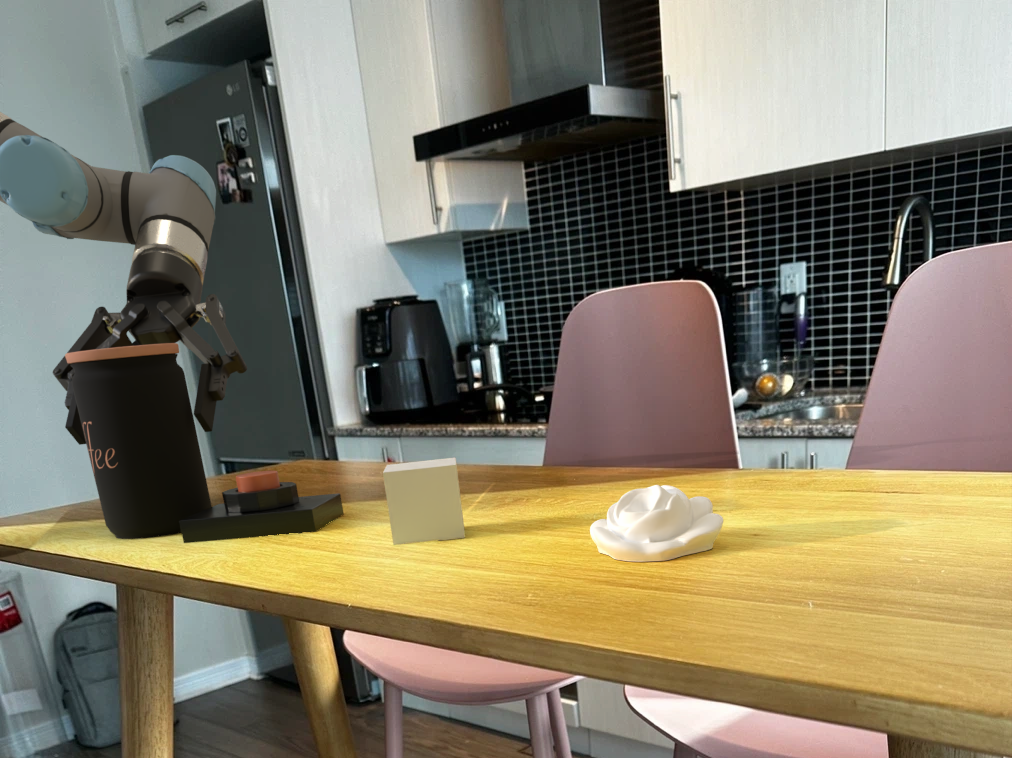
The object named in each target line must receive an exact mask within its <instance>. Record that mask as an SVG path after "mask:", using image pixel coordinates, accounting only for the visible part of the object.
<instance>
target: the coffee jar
mask: <svg viewBox="0 0 1012 758" xmlns="http://www.w3.org/2000/svg"><path fill="white" fill-rule="evenodd" d="M66 353H67V352H66ZM66 353H65V355H64V356H65V357H66V360H67V363H68V364H70V366H71V367H72V368H73V369H74V373H75V374H74V376H73V378H72V387H73V391H74V395H75V400H76V404H77V408H78V412H79V416H80V420H81V424H82V428H83V433H84V437H85V441H86V444H85V445H86V448H87V453H88V456H89V461H90V465H91V469H92V473H93V477H94V482H95V486H96V491H97V494H98V498H99V502H100V503H99V504H100V507H101V511H102V515H103V519H104V523H105V527H106V528H107V529H108V530H109V532H110V533H112V534H113V535H114V536H115V538H116V539H120V540H140V539H150V538H159V537H165V536H171V535H178V534H182V532H181V528H180V523H179V521H180V520H182V519H184V518H187V517H189V516H192V515H194V514H196V513H199V512H201V511H203V510H206V509H208V508H211V507H213V506H212V502H211V496H210V491H209V486H208V481H207V476H206V472H205V468H204V463H203V458H202V451H201V448H200V443H199V442H200V441H199V437H198V433H197V427H196V423H195V418H194V412H193V410H192V403H191V399H190V394H189V389H188V384H187V380H186V375H185V371H184V368H183V367H181V365H180V364H178V362H177V358H178V354H180V347H179V343H178V342H176V343H164V344H150V345H137V346H126V347H115V348H105V349H95V350H86V351H78V352H71V353H67V354H66Z"/></svg>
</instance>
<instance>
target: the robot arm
mask: <svg viewBox="0 0 1012 758" xmlns="http://www.w3.org/2000/svg"><path fill="white" fill-rule="evenodd" d="M0 202H1V203H3V204H5V205H6V206H8V207H9V208H10V209H11V210H13V211H14V212H15V213H16V214H17V215H19V216H21V217H22V218H24V219H26V220H28V221H30V222H31V224H32V225H33V227H34V228H35V229H36V230H37V231H38V232H40V233H42V234H44V235H49V236H56V237H59V238H65V239H67V240H74V239H80V240H89V241H97V242H109V243H118V244H128V245H129V244H130V245H132V246H134V249H133V254H132V256H131V257H132V258H131V265H130V269H129V275H128V278H127V284H126V291H125V293H126V304H125V305H124V306H123V308H122V309H121V310H120V311H119V312H109V311H108V309H106V307H105V306H98V307H97V308H96V309H95V310H94V313H93V316H92V318H91V321H90V323H89V324H88V326H87V327H86V328H85V329H84V331H83V332H82V333H81V335H80V336H79V337H78V338H77V339H76V341H74V343H73V345H71V347H70V348H69V350H68V351H67V352H66V353H65V354H67V353H71V352H78V351H86V350H95V349H105V348H115V347H126V346H137V345H150V344H164V343H178V342H180V343H182V344H183V345H184V346H185V348H187V350H189V351H191V352H192V353H193V354H194V355H195V356H196V357H197V358H198V359H199V360H200V361H201V362H202V363H201V365H200V372H199V378H198V384H197V391H196V397H195V403H194V409H193V417H195V419H196V420H197V422H198V424H199V425H200V427H201V428H202V430H203V431H204V433H208V432H213V428H214V422H215V414H216V408H217V402H219V401H223V400H224V398H225V396H226V389H227V383H228V379H229V378H230V377H231V375H232V374H233V373H237V374H244V373H245V372H247V371H248V366H247V364H246V362H245V360H244V358H243V356H242V354H241V352H240V350H239V348H238V346H237V345H236V343H235V341H234V338H233V337H232V335H231V333H230V331H229V329H228V327H227V324H226V323H227V313H226V311H225V310H224V308H223V306H222V304H221V302H220V300H219V298H218V296H217V295H216V294H215V293H210V294H208V295H207V296H206V297H205V302H201V301H202V294H203V285H204V280H205V274H206V268H207V263H208V256H209V249H210V244H211V239H212V233H213V230H214V225H215V223H216V219H217V218H216V204H217V203H216V202H217V187H216V185H215V182H214V179H213V178H212V176H211V175H210V173H209V171H207V170H206V169H205V168H204V167H203V165H201V164H200V163H198V162H197V161H195V160H193V159H191V158H189V157H186V156H184V155H177V154H171V155H168V156H165V157H162V158H159V159H157V160H156V161H155V163H154V164H153V165H152V167H151V170H149V172H141V171H129V170H127V171H126V170H125V171H124V170H120V169H112V168H104V167H98V166H93V165H90V164H89V163H87V162H85V161H83V159H81V158H78V157H77V156H75V155H73V154H72V153H70V152H69V151H68V150H67V149H65V148H64V147H62V146H61V145H60V144H57V143H56V142H54V141H52V140H51V139H48V138H47V137H44V136H42V135H40V134H38V133H37V132H35V131H33V130H32V129H30V128H28V127H26V126H25V125H23V124H20V123H19V122H17V121H15V120H14V119H12V117H10V116H8V115H6V114H4V113H3V112H1V111H0ZM201 318H203V319H204V321H205V323H209V324H210V326H212V328H213V330H214V332H215V334H216V336H217V338H218V339H219V341H220V344H221V346H222V347H223V349H224V351H225V353H226V354H224V355H220V353H219V351H218V350H217V349H216V350H215V349H214V348H213V347H212V346H211V345H210V344H209V343H208V342H207V341H206V340H205V339H203V337H202V336H200V334H198V332H196V331H195V329H194V327H195V326H196V325H197V323H198V322H199V321H200V320H201ZM128 333H129V334H130V335H131V336H132V338H133V339H134V341H133V342H132V340H131V339H130V337H129V336H128ZM74 374H75V373H74V369H73V368H72V367H71V366H70V364H68V363H67V360H66V357H65V355H64V356H62V358H61V359H60V361H59V362H58V363H57V365H56V366H55V367H54V369H52V375H53V376H54V377H55V379H56V380H57V381H58V383H59V384H60V385H61V387H62V388H63V389H64V390H65V391H66V394H65V395H66V396H65V399H64V406H65V407H66V409H67V410H68V412H67V417H66V422H65V426H64V428H65V429H66V430H67V432H68V433H69V434H70V435H71V436H72V438H73V439H74V440H75V441H76V443H77V444H78V445H81V446H82V445H86V441H85V437H84V433H83V428H82V424H81V420H80V416H79V412H78V408H77V404H76V400H75V395H74V391H73V387H72V378H73V376H74Z"/></svg>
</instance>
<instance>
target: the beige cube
mask: <svg viewBox="0 0 1012 758" xmlns="http://www.w3.org/2000/svg"><path fill="white" fill-rule="evenodd" d="M382 477H383V484H384V490H385V491H384V492H385V498H386V504H387V510H388V512H387V513H388V517H389V525H390V531H391V539H392V545H393V546H395V545H405V544H413V543H415V544H416V543H422V542H423V543H424V542H432V541H448V540H456V539H457V540H458V539H465V538H466V534H465V523H464V515H463V507H462V499H461V489H460V482H459V473H458V465H457V458H456V457H447V458H446V457H445V458H437V459H429V460H420V461H419V460H418V461H410V462H400V463H391V464H386V465H385V468H384V470H383V472H382Z"/></svg>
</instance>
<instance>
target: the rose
mask: <svg viewBox="0 0 1012 758" xmlns="http://www.w3.org/2000/svg"><path fill="white" fill-rule="evenodd" d="M713 508H714V505H713V502H712V501H711V499H710V498H709V497H707V496H699V495H698V496H693V497H691V498H689V497H688V496H687V494H686V493H685V492H684V491H682V490H681V489H680V488H679V487H676V486H672V485H669V484H663V485H659V484H654V485H651V486H648V487H643V488H635V489H630V490H629V491H627V492H625V493H624V494H622V496H621V497H620V498H619V499H618V501H616V502H614V503H613V504H612V505H610V506H609V507H608V510H607V512H606V518H600V519H597V520H595V521H594V522H592V523H591V525H590V527H589V534H590V538H591V539H592V541H593V543H594V544H595V545H596V547H597V551H598V553H599V554H603V555H605V556H606V555H607V556H609V557H610V558H612V559H614V560H618V561H624V562H634V563H635V562H636V563H637V562H639V563H640V562H641V563H644V562H664V561H670V560H674V559H677V558H680V557H683V556H688V555H693V554H696V553H701V552H705V551H709V550H711V549H713V547H714V543H715V541H716V540H717V538H718V537H719V535H720V533H721V531H722V529H723V528H722V527H723V524H724V517H723V516H722V515H721V514H719V513H714V509H713Z"/></svg>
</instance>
